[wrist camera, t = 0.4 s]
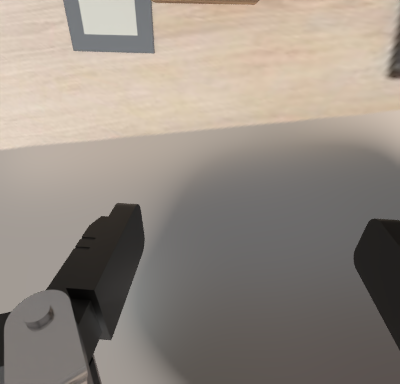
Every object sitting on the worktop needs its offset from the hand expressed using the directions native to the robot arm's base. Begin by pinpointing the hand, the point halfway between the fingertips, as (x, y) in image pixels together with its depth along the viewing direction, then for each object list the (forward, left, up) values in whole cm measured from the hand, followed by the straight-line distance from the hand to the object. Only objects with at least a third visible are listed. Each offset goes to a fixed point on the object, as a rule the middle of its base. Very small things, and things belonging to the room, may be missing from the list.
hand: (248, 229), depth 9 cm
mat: (-9, -15, -28) cm, 33 cm away
